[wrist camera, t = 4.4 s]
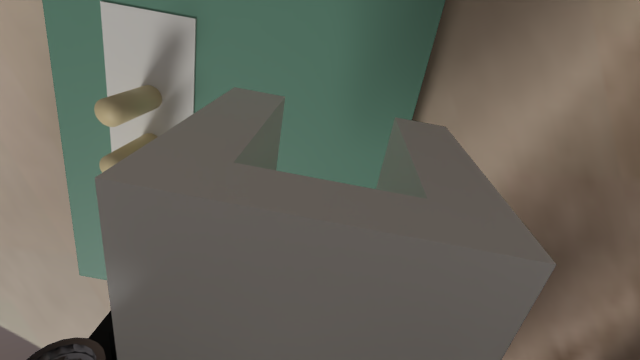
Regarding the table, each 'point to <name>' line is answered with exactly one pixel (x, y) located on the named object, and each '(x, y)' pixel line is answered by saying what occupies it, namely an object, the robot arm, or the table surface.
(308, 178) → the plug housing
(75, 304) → the table surface
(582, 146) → the table surface
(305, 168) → the pin board
